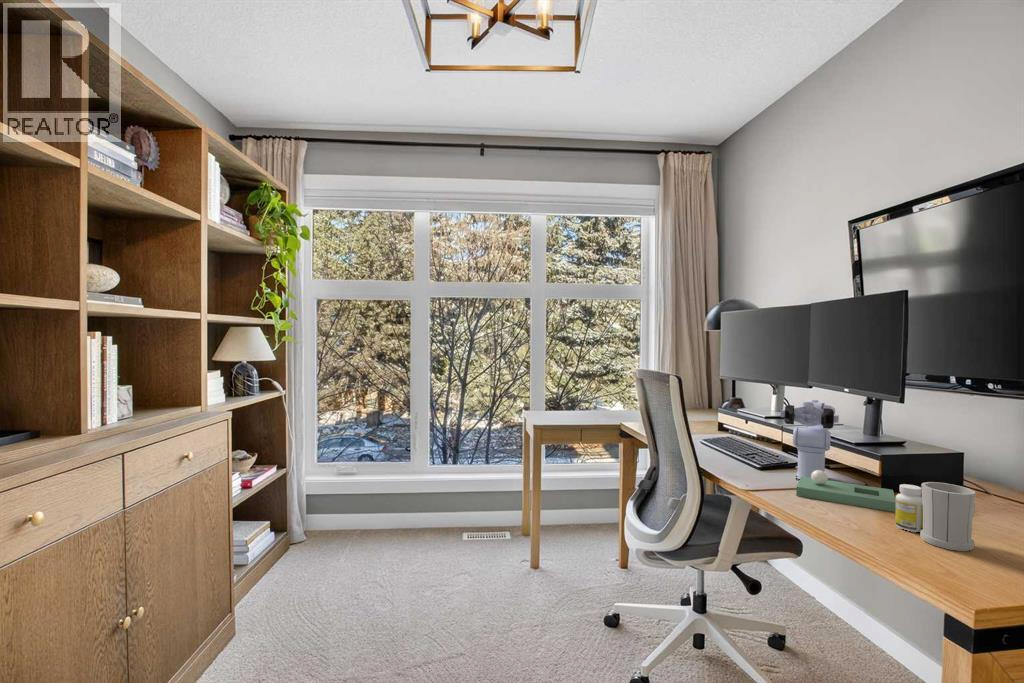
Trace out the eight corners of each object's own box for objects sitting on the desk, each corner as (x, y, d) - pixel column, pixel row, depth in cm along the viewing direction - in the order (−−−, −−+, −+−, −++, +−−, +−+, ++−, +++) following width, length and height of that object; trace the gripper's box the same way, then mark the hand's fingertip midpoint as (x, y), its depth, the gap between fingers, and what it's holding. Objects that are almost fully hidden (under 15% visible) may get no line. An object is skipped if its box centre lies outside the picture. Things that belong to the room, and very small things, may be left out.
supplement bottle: (914, 525, 119) (915, 483, 119) (930, 534, 114) (932, 490, 114) (889, 523, 120) (890, 482, 120) (905, 532, 114) (906, 489, 114)
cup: (920, 529, 116) (921, 477, 116) (973, 540, 111) (975, 485, 110) (919, 544, 108) (921, 488, 108) (977, 556, 102) (979, 497, 102)
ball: (811, 481, 146) (811, 467, 146) (827, 483, 143) (828, 469, 143) (810, 484, 142) (810, 470, 142) (827, 487, 140) (827, 472, 140)
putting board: (800, 484, 151) (800, 476, 151) (892, 498, 139) (893, 489, 139) (796, 495, 140) (796, 486, 140) (895, 512, 128) (896, 502, 128)
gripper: (784, 398, 157) (777, 402, 145) (839, 403, 148) (837, 407, 137) (783, 421, 157) (776, 426, 145) (838, 427, 148) (836, 433, 137)
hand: (806, 419), depth 141 cm, fingers open, 7 cm apart
